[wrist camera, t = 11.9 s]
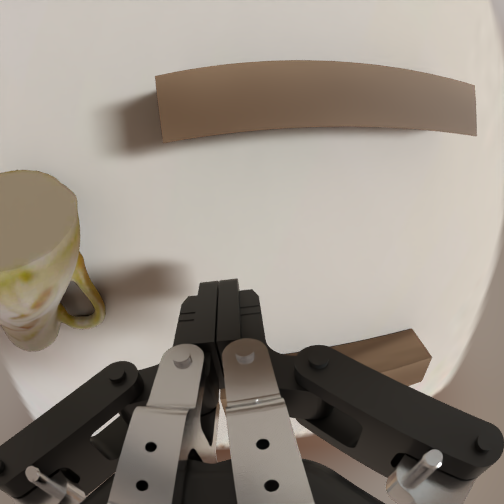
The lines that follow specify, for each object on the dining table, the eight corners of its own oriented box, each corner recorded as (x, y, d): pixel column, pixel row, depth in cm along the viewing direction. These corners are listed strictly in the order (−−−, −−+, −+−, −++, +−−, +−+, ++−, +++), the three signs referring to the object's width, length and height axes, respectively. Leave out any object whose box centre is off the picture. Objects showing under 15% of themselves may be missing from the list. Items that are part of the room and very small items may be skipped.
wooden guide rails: (171, 85, 11) (154, 76, 8) (436, 85, 11) (474, 85, 8) (226, 385, 18) (227, 420, 16) (404, 352, 19) (421, 381, 16)
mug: (12, 308, 15) (-94, 317, 5) (63, 183, 16) (-36, 120, 6) (87, 370, 15) (-15, 430, 5) (149, 232, 16) (55, 176, 7)
